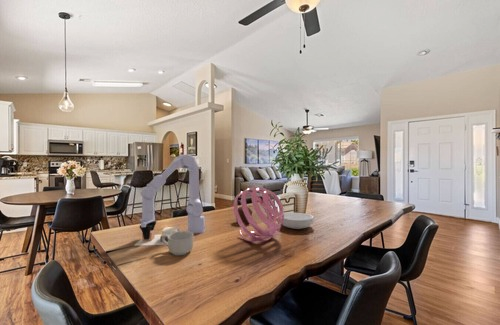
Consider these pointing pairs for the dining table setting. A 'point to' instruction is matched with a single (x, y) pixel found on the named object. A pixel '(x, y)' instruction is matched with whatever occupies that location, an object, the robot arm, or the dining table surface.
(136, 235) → the dining table surface
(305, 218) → the serving bowl
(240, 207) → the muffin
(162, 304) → the dining table surface
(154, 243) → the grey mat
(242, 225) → the pink lattice sphere
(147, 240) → the terracotta block
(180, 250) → the teacup
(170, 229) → the cream block
